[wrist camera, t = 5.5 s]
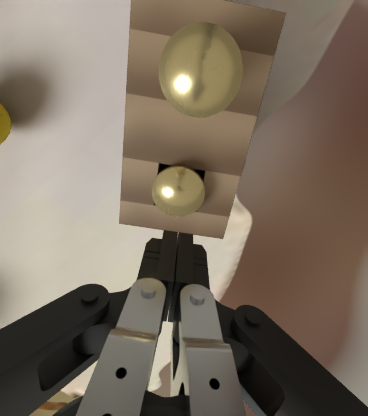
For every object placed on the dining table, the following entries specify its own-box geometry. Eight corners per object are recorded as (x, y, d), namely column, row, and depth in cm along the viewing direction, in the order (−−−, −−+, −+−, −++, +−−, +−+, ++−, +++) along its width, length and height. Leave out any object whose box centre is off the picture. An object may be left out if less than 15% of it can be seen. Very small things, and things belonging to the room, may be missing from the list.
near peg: (175, 43, 20) (164, 13, 11) (225, 52, 20) (253, 31, 11) (168, 98, 22) (154, 110, 13) (214, 106, 22) (231, 124, 13)
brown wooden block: (154, 19, 23) (132, -19, 14) (249, 38, 24) (286, 12, 15) (139, 181, 30) (119, 223, 21) (213, 193, 31) (223, 238, 22)
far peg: (166, 136, 27) (154, 163, 18) (203, 142, 27) (209, 172, 18) (161, 172, 29) (149, 212, 20) (196, 177, 29) (199, 220, 20)
